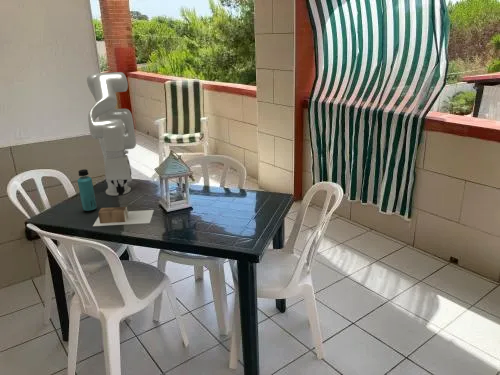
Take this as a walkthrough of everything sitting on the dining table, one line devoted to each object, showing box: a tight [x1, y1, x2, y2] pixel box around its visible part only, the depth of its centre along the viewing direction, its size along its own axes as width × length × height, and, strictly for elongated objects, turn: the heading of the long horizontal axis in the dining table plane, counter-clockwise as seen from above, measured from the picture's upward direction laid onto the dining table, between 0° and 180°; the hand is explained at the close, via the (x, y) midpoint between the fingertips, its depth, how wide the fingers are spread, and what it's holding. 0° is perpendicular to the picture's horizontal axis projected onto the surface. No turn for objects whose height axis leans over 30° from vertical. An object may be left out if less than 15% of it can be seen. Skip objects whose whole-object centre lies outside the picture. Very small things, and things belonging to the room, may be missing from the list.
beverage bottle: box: [77, 168, 97, 212], centre depth 185 cm, size 6×7×20 cm
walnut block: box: [97, 206, 128, 223], centre depth 177 cm, size 5×5×11 cm
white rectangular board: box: [92, 209, 155, 227], centre depth 180 cm, size 14×24×1 cm, turn 95°
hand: (121, 194), depth 175 cm, fingers closed
